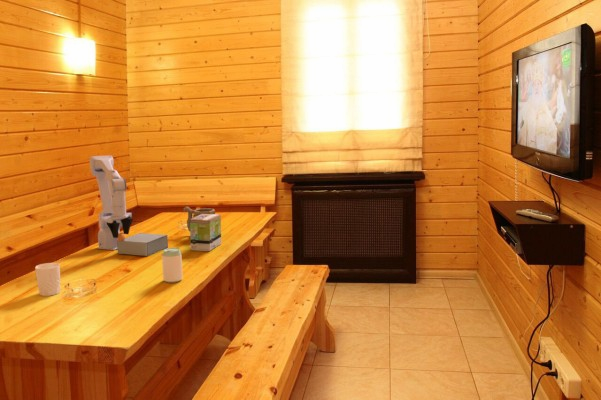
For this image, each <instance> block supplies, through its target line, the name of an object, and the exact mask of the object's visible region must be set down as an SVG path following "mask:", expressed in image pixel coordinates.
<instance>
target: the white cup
mask: <svg viewBox="0 0 601 400" xmlns="http://www.w3.org/2000/svg"><path fill="white" fill-rule="evenodd" d="M60 266H61V264H60V263H58V262H46V263H40V264H38V265H36V266H35V267H34V269H35V275H36V282H37V287H38V293H39V294H38V295H40V296H42V297H51V296H55V295H58V294H60V292H61V267H60Z"/></svg>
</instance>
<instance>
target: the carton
mask: <svg viewBox="0 0 601 400" xmlns="http://www.w3.org/2000/svg"><path fill="white" fill-rule="evenodd" d="M125 240H126V241H138V242H147V256H146V257H149V256H151V255H154V254H156V253H159V252H161V251H164V250H165V249H168V248H169V239H168V235H167V234H159V233H145V232H144V233H143V232H139V233H136V234H133V235H131V236H128V237H125ZM158 251H159V252H158Z"/></svg>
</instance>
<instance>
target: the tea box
mask: <svg viewBox="0 0 601 400" xmlns="http://www.w3.org/2000/svg"><path fill="white" fill-rule="evenodd" d="M221 218H222V217H221V214H217V213H215V214H201V215H199V216H196V217H194V218H193V217H192V219H190V231H189V233H190V235H189V236H190V238H189V239H190V240H189V241H190V242H189V243H190V244H189V245H190V250H191V251H197V252H199V251H200V252H211V251H212V250H214V249H215V248H216V247H218V246H220V245H221V244H222V221H221V220H222V219H221Z"/></svg>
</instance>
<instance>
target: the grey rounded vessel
mask: <svg viewBox="0 0 601 400" xmlns="http://www.w3.org/2000/svg"><path fill="white" fill-rule="evenodd" d="M182 210H183V212H187V219H186V228H187V230H188V231H189V232H190V219H192V218H194V217H196V216H199V215H201V214H216V210H215V209H214V208H207V207H203V208H197V209H191V208H190V207H189V206H185V207H183V208H182Z"/></svg>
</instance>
